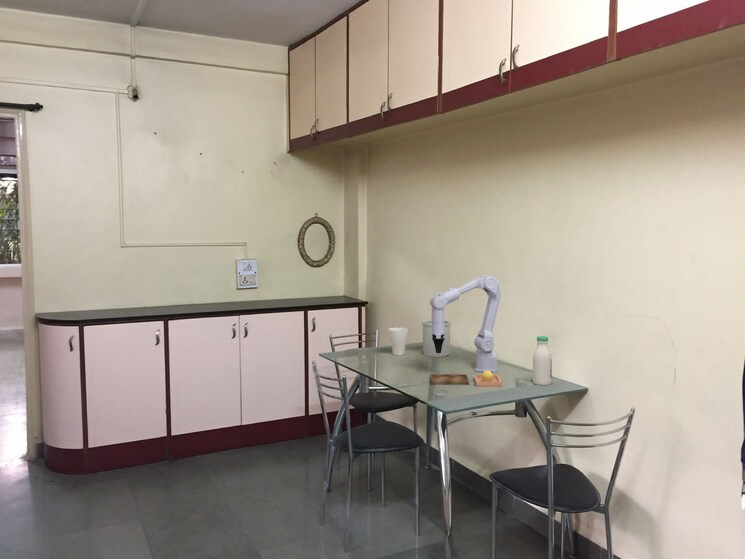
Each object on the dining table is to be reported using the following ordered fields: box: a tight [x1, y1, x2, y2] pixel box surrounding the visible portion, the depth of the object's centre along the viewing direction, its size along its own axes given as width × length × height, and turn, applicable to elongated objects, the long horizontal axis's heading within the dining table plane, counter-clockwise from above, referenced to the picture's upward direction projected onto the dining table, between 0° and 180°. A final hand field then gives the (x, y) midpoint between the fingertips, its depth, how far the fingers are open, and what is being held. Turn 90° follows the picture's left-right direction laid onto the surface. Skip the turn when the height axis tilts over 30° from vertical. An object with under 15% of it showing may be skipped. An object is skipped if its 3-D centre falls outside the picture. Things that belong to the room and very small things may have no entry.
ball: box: [481, 370, 494, 382], centre depth 264 cm, size 5×5×5 cm
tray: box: [430, 373, 470, 386], centre depth 269 cm, size 16×12×2 cm
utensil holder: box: [421, 318, 452, 358], centre depth 324 cm, size 15×15×18 cm
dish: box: [473, 374, 503, 388], centre depth 264 cm, size 10×12×2 cm
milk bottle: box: [532, 335, 553, 386], centre depth 262 cm, size 8×8×20 cm
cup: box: [387, 327, 409, 356], centre depth 326 cm, size 10×10×14 cm
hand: (438, 351), depth 283 cm, fingers open, 7 cm apart
